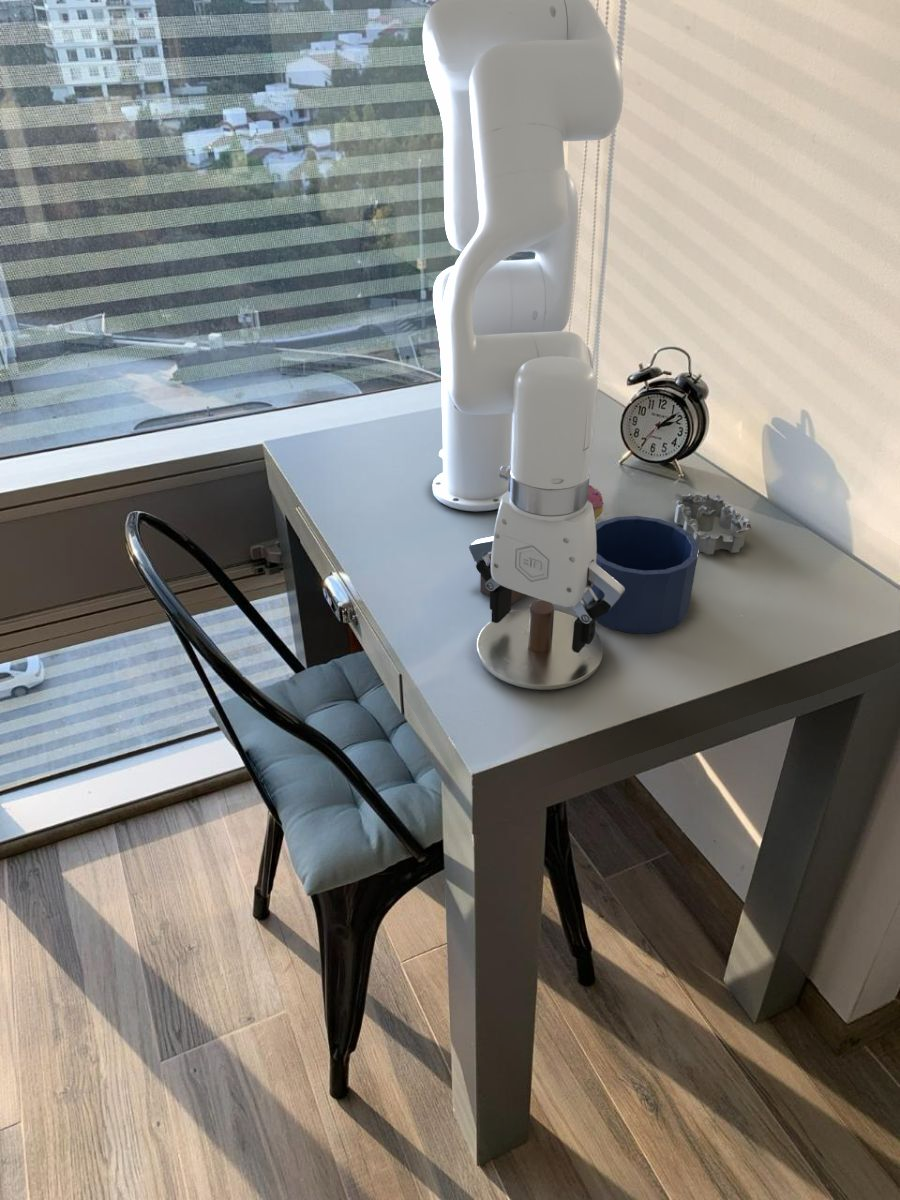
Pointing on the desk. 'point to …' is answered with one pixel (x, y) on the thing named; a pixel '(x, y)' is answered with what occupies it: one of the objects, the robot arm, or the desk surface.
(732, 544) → the egg carton
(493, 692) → the desk surface
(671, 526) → the blue bowl
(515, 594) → the block
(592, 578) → the robot arm
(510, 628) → the lid
